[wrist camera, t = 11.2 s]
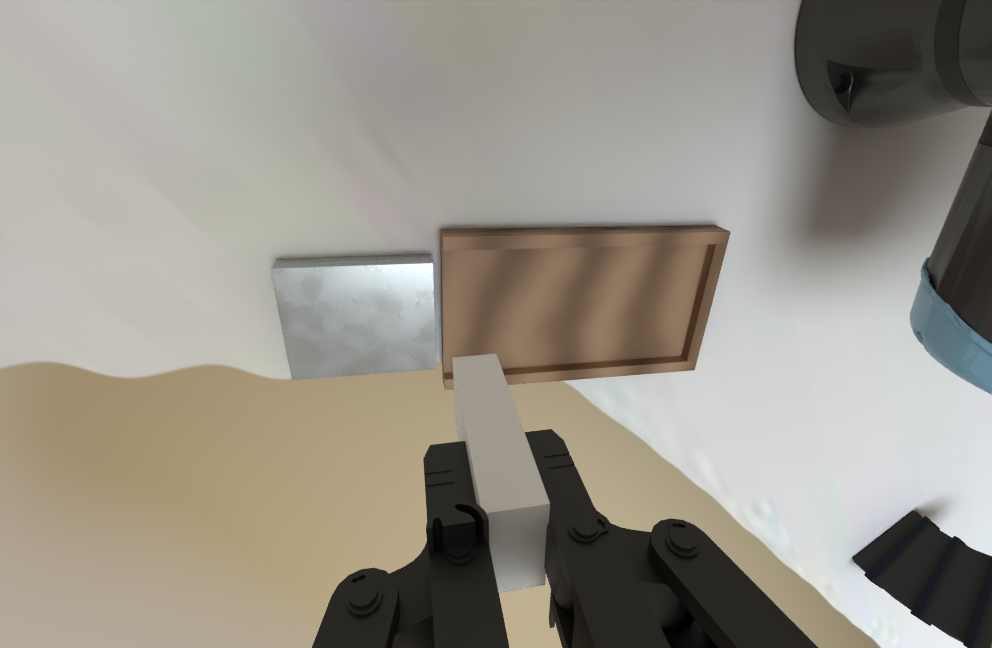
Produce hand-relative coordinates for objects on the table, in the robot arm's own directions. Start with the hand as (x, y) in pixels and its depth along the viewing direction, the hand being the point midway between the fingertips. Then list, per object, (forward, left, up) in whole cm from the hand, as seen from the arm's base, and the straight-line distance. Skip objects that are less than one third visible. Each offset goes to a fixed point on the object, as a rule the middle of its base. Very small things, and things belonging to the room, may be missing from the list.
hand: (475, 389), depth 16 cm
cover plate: (+5, +7, -22) cm, 24 cm away
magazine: (-64, +45, -22) cm, 81 cm away
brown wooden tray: (-12, +7, -22) cm, 25 cm away
